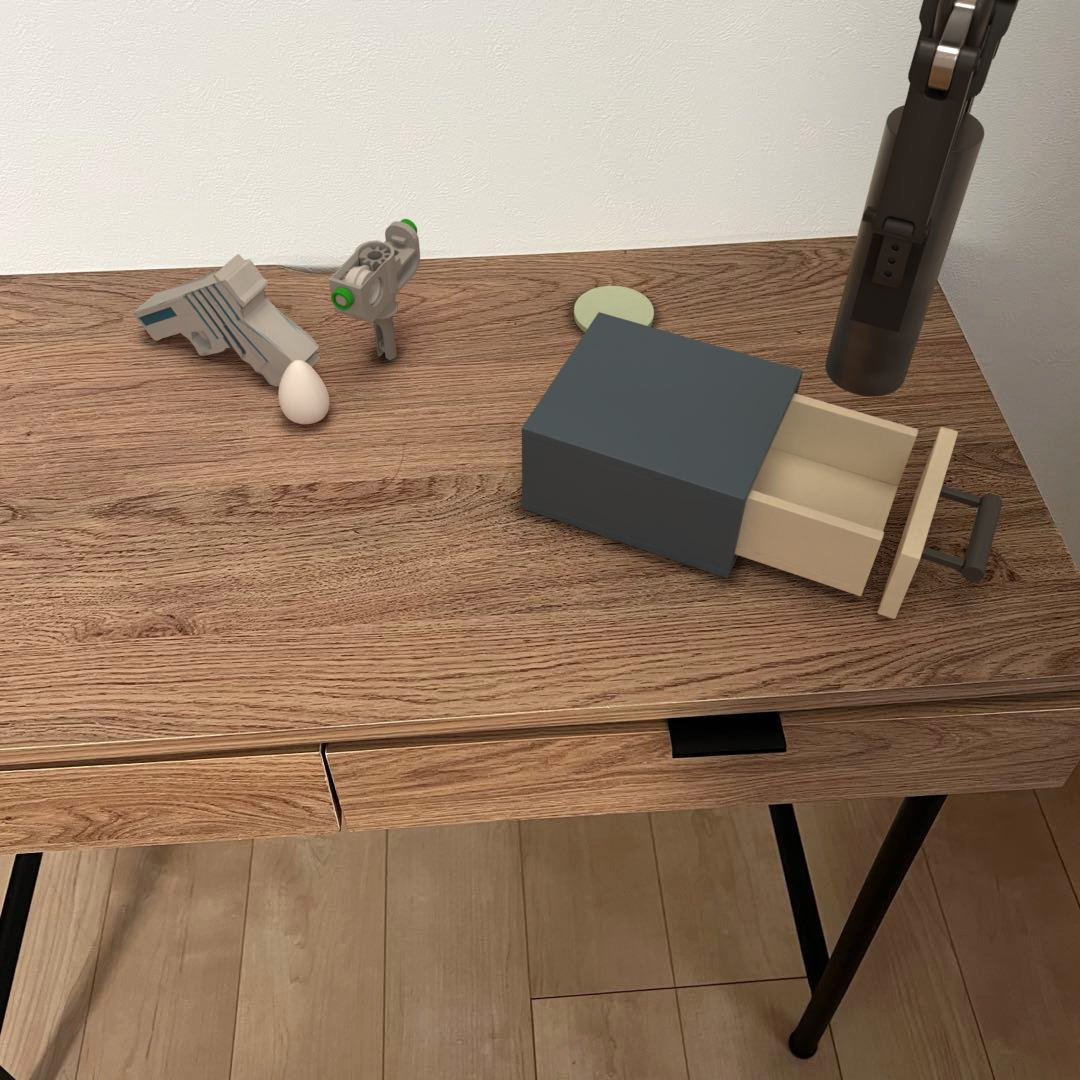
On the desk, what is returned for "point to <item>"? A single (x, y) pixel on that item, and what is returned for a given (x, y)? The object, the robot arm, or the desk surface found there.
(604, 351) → the cabinet
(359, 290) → the mechanical component
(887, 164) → the dark brown cylinder
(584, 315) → the coaster
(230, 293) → the toy gun
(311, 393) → the egg
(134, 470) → the desk surface
